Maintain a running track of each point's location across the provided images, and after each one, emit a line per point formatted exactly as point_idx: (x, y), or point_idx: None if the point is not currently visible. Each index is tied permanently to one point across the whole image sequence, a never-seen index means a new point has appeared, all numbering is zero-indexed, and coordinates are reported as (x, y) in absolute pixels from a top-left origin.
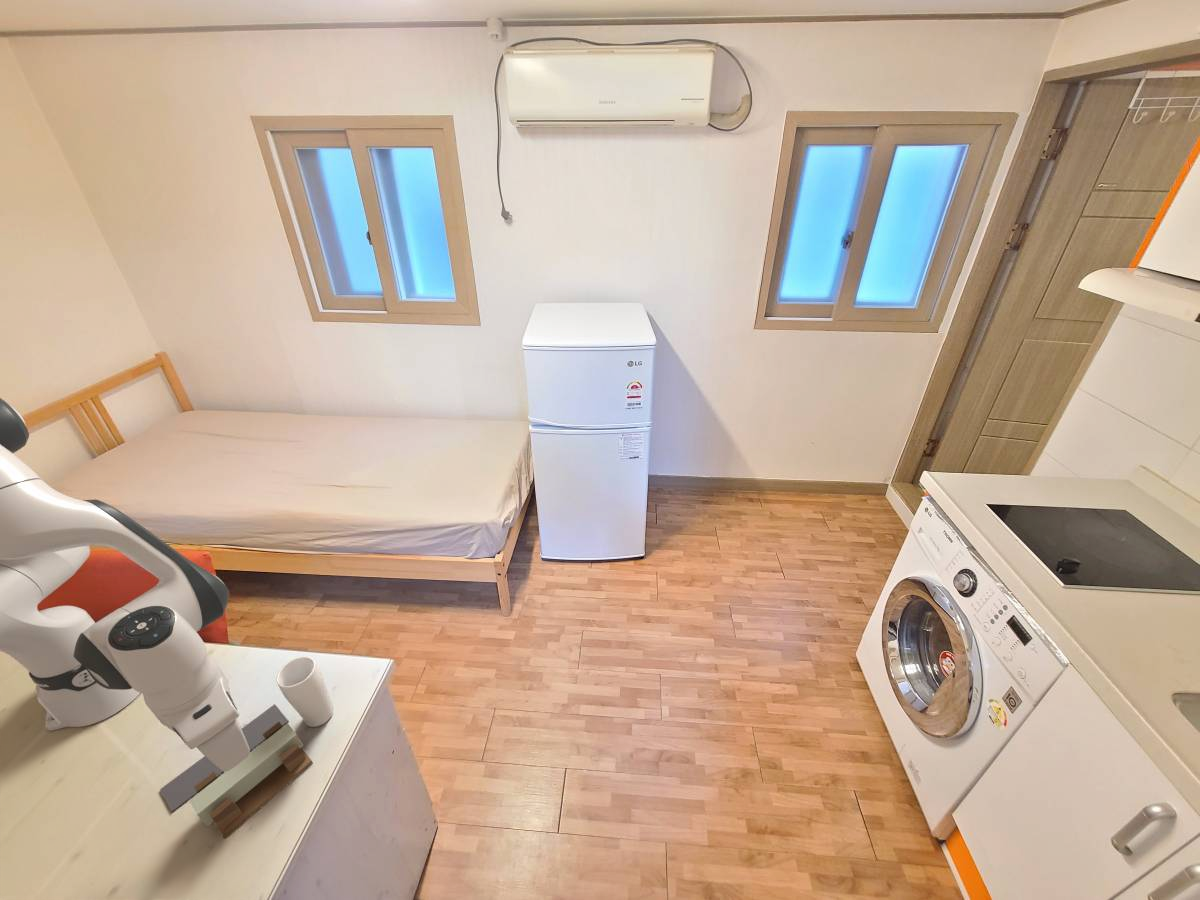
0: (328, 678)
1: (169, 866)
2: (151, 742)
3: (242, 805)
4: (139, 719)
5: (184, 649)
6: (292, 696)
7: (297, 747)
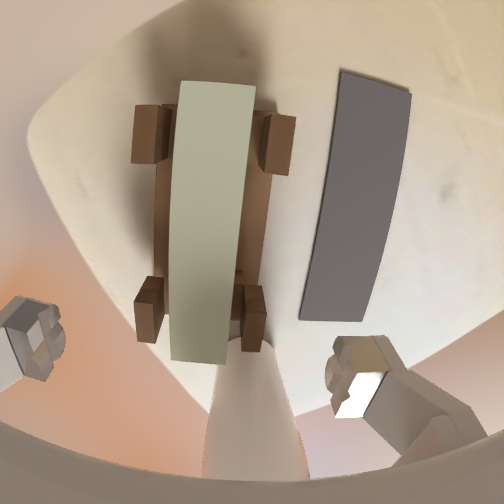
0: (305, 393)
1: (222, 18)
2: (498, 152)
3: None
4: None
5: None
6: (222, 454)
7: (139, 338)
